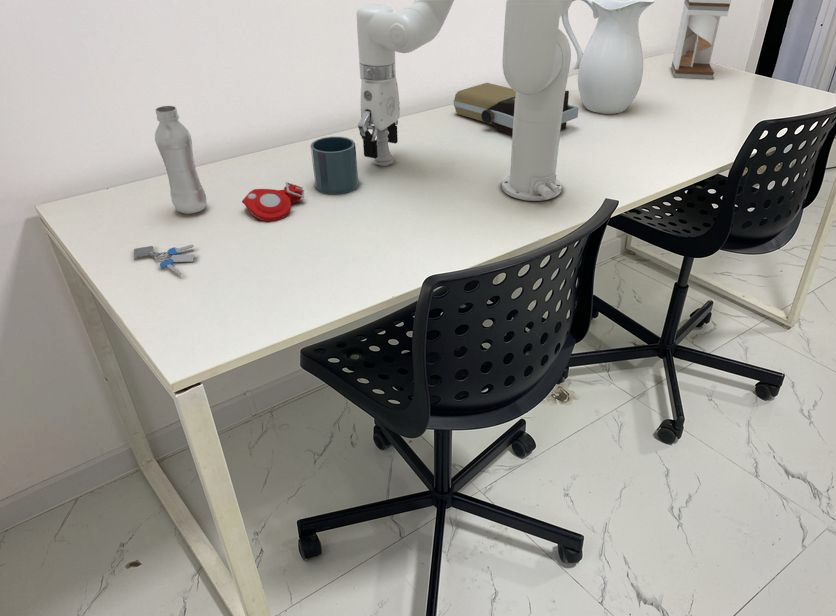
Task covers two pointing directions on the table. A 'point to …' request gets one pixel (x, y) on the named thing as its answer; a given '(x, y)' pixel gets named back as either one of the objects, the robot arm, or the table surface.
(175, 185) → the plastic bottle
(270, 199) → the tracker holder
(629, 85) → the pitcher
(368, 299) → the table surface
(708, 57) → the spiral staircase tower model
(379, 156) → the rook chess piece
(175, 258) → the key chain
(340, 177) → the tumbler
